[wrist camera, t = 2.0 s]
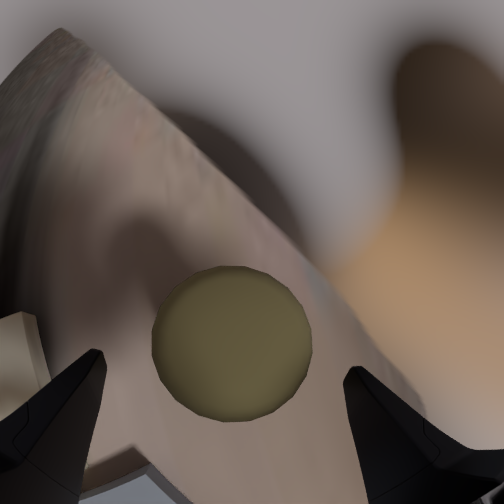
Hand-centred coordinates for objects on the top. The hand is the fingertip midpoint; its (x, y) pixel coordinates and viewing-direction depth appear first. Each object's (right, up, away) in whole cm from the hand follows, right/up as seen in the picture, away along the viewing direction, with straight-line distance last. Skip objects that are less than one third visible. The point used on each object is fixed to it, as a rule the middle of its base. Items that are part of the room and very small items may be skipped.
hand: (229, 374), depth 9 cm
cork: (-1, -2, +9) cm, 9 cm away
